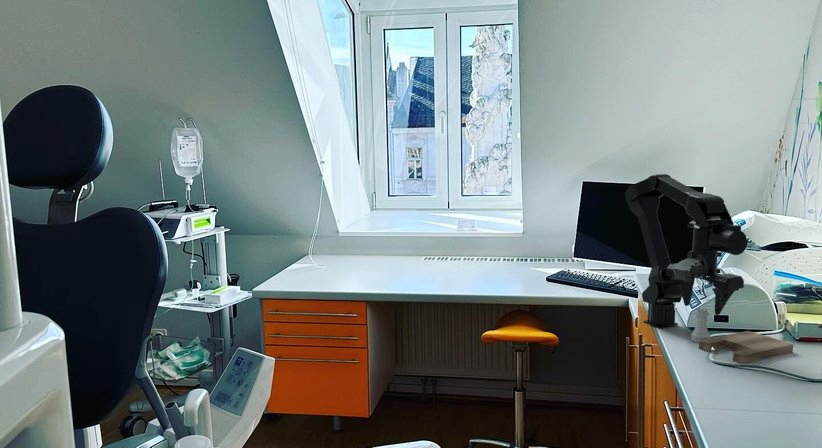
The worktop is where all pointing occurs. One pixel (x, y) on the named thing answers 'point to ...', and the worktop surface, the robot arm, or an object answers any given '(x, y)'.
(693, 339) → the rook chess piece
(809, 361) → the worktop surface
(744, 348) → the notched board
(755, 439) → the worktop surface
